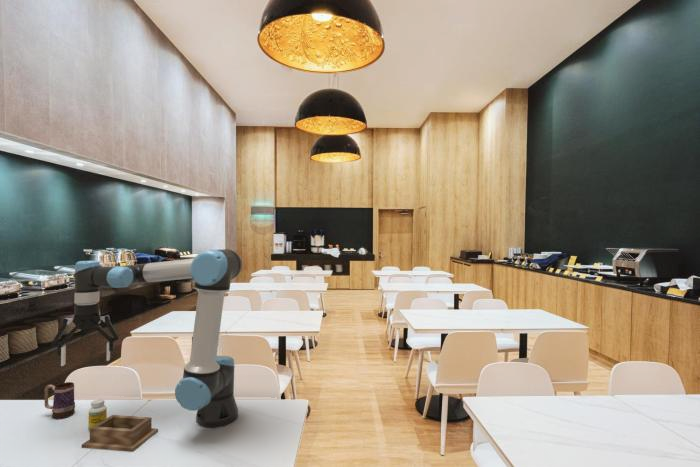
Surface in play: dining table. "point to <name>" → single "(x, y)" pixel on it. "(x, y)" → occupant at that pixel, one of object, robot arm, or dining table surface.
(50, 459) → the dining table surface
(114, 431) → the walnut caddy
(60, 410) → the mug
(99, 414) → the supplement bottle
